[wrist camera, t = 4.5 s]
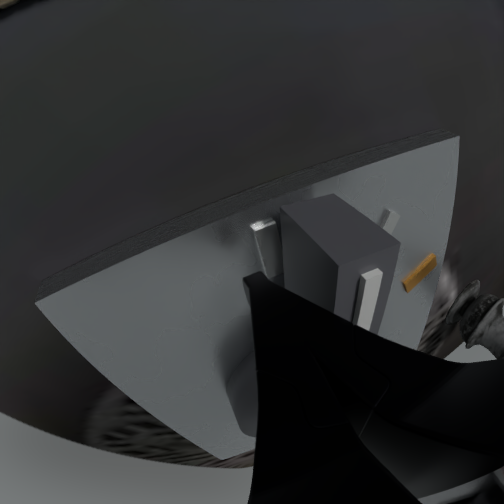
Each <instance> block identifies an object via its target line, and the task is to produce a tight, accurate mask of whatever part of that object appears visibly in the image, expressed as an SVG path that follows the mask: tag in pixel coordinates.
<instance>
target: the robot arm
mask: <svg viewBox="0 0 504 504" xmlns="http://www.w3.org/2000/svg"><path fill="white" fill-rule="evenodd" d="M242 283H243V287H244V290H245V294H246V298H247V301H248V304H249V306H250V312H251V324H252V336H253V347H254V359H255V370H256V384H257V404H258V405H257V428H256V441H255V454H254V466H253V477H252V484H251V490H250V495H249V500H248V504H504V358H502V359H496V360H490V361H481V362H473V363H457V362H452V361H447V360H444V359H441V358H438V357H435V356H432V355H429V354H426V353H423V352H420V351H418V350H415V349H412V348H409V347H406V346H404V345H401V344H398V343H396V342H393V341H391V340H388V339H386V338H383V337H381V336H379V335H377V334H375V333H372V332H370V331H368V330H366V329H364V328H362V327H360V326H358V325H356V324H355V325H354V324H353V323H352V322H350V321H348V320H346V319H344V318H342V317H340V316H338V315H336V314H334V313H332V312H330V311H328V310H326V309H324V308H322V307H320V306H319V305H317V304H315V303H313V302H311V301H309V300H307V299H305V298H303V297H301V296H299V295H297V294H295V293H293V292H291V291H289V290H287V289H286V288H284V287H282V286H280V285H278V284H276V283H274V282H272V281H270V280H269V279H268V278H267V277H266V276H265V275H264V273H263V272H261V271H258V272H256V273H253V274H250V275H248V276H245V277H243V278H242Z"/></svg>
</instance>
